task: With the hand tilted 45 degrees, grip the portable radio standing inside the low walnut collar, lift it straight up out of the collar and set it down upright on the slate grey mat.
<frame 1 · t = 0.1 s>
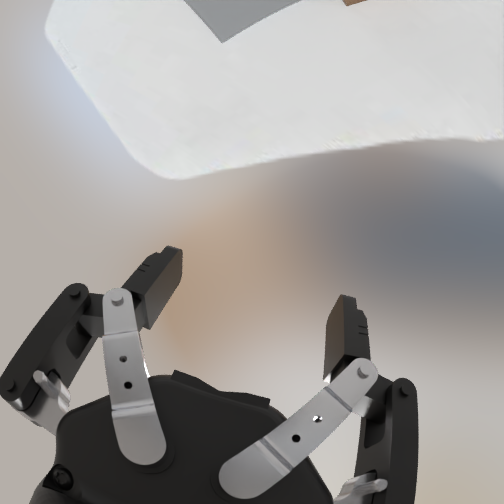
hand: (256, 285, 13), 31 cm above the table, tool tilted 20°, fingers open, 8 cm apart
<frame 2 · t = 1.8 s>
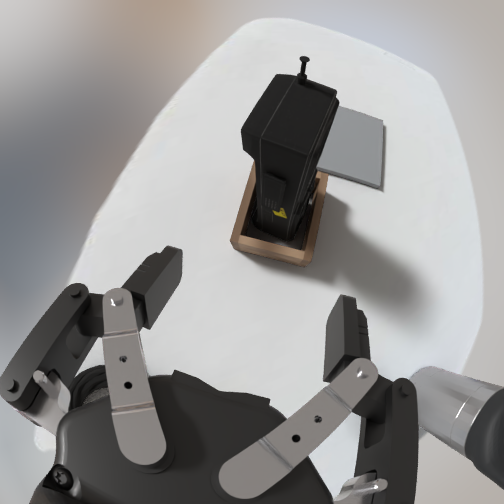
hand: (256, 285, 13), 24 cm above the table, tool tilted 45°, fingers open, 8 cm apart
slate mat: (336, 138, 40), on the table
walnut collar: (279, 217, 38), on the table
portable radio: (279, 217, 38), resting in walnut collar
cable lock: (140, 443, 33), on the table
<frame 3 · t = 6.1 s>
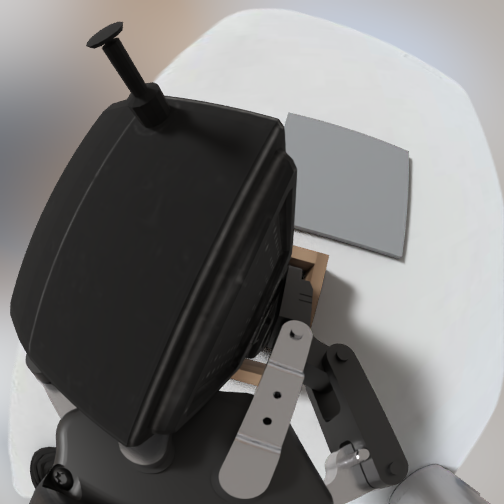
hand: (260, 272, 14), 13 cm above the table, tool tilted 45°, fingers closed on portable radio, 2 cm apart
slate mat: (343, 181, 29), on the table
walnut collar: (253, 309, 26), on the table
portable radio: (253, 308, 26), resting in walnut collar, touching gripper
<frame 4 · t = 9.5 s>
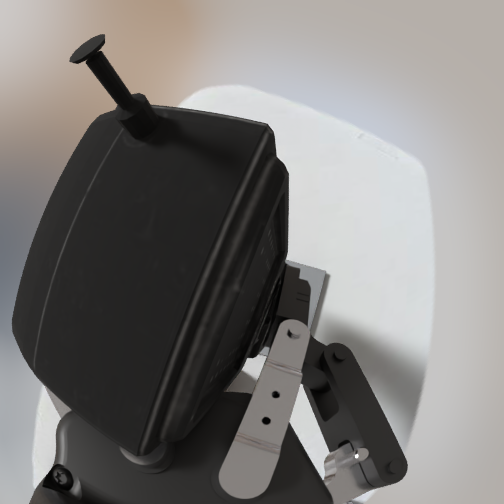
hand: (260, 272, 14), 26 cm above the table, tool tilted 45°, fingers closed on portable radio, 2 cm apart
slate mat: (259, 303, 39), on the table
portable radio: (252, 307, 26), point 13 cm above the table, touching gripper, hand
when the fingers open (15 cm above the table, at t = 12.7 s): portable radio drops 1 cm, resting on slate mat.
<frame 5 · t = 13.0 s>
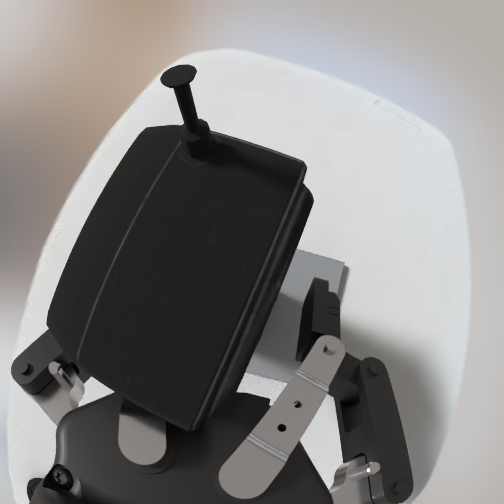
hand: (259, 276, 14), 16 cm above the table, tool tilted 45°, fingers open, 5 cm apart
slate mat: (255, 306, 29), on the table
portable radio: (236, 314, 28), point 1 cm above the table, touching slate mat
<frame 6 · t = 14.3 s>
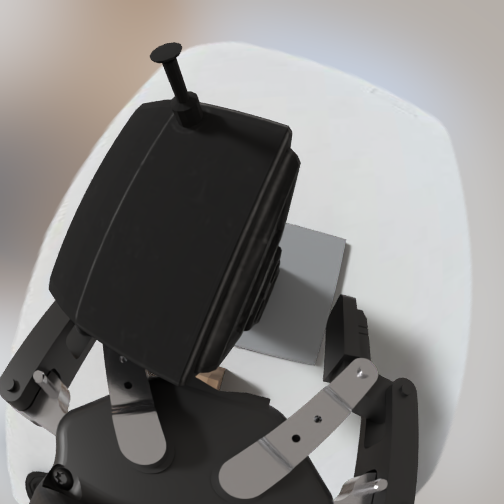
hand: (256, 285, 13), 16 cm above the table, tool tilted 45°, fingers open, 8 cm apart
slate mat: (259, 283, 29), on the table
walnut collar: (171, 399, 27), on the table
portable radio: (240, 290, 28), point 1 cm above the table, touching slate mat
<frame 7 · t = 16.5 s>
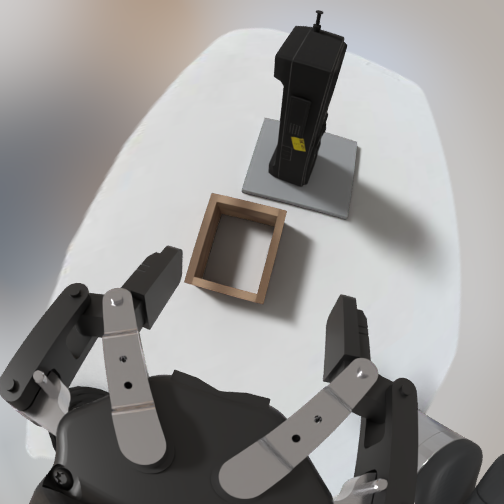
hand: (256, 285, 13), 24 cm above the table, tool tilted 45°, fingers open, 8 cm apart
slate mat: (303, 165, 41), on the table
walnut collar: (238, 253, 38), on the table
portable radio: (292, 167, 40), point 1 cm above the table, touching slate mat
cable lock: (117, 455, 33), on the table
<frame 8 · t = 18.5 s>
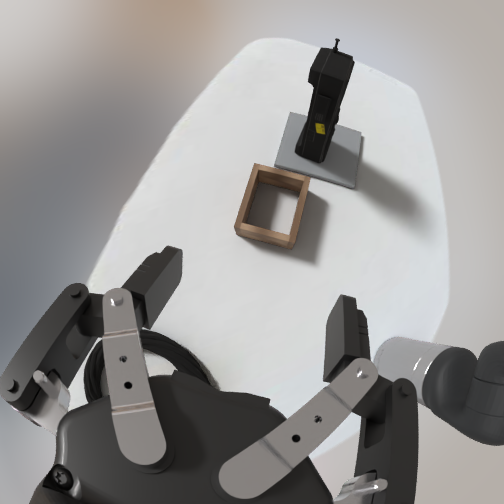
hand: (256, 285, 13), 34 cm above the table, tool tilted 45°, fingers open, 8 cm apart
slate mat: (320, 148, 51), on the table
walnut collar: (272, 210, 49), on the table
portable radio: (312, 149, 50), point 1 cm above the table, touching slate mat
cable lock: (152, 400, 44), on the table
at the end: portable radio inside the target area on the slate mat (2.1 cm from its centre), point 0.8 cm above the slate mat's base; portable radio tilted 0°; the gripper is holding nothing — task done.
